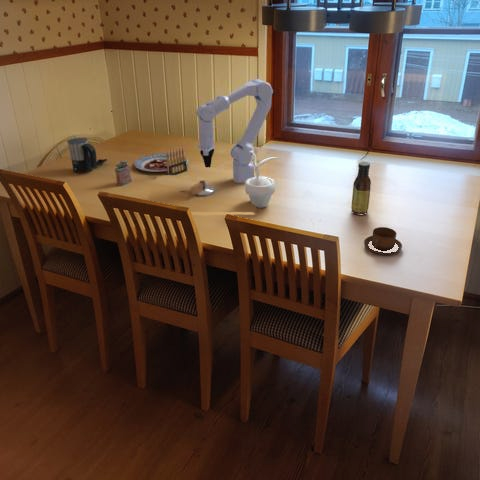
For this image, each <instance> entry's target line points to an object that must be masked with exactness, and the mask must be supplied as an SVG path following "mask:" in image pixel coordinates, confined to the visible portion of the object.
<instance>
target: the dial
mask: <svg viewBox="0 0 480 480" xmlns="http://www.w3.org/2000/svg"><path fill="white" fill-rule="evenodd" d="M215 189H216V188H215V186H213V185H211V184H206V180H200V181H199V182H198V183H196V184H194V185H192V186H191V187H190V194H191V195H192V196H193V195H194V196H195V197H207V196H212V195H213V194H214V193H215V192H216V190H215Z"/></svg>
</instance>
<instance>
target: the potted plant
mask: <svg viewBox="0 0 480 480" xmlns="http://www.w3.org/2000/svg"><path fill="white" fill-rule="evenodd" d="M248 152H250V153H252V157H253V158H252V159H251V161H252V163H253V165H254V172H255V174H256V175H255V177H253V178H249V179H247V180H246V181H245V183H244V191H245V194H246V195H248V197H249V201H250V203H251V205H253V206H255V208H257V209H262V208H267V206H268V205H269V203H270V201H271V198H272V196H273V194H274V193H275V192H276V191H275V190H276V181H275V179H272V178H270V177H266V176H265V175H263V176H260V169H259V167H260V166H262V165H264V164H266V163H267V162H269V161H272V160H275V159H279V157H278V156H277V157H276V156H272V157H268V158H264V159H263V160H261V161H259V159H256V158H257V154H258V153H259V151H258V150H257V147H256V146H255V147H254V149H253V150H252V151H248ZM257 164H258V165H257Z"/></svg>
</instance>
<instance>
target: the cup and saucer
mask: <svg viewBox="0 0 480 480" xmlns="http://www.w3.org/2000/svg"><path fill="white" fill-rule="evenodd" d="M370 241H372V245H373V246H374V248H376V249H378V250H381V251H387V250H390V249H392V248H393V247H394V245H395V243H396V244H397V245H398V247H399V248H398V250H397V251H396V252H391V253H383V252H378V251H374V250H372V249H370V248H369V246H368V244H369V242H370ZM363 244H364V247H365V248H366V249H368V250H369V251H370V252H372V253H375V254H377V255H378V254H379V255H383V256H384V255H385V256H386V255H393V254H396V253H398V252H400V251H402V248H403V244H402V242H401V241H400V240H398V239H397V232H396V231H395V230H394V229H392V228H390V227H385V226H379V227H375V228H373V230H372V234H371V235H370V236H367V237H366V238H365V239H364V240H363Z"/></svg>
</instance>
